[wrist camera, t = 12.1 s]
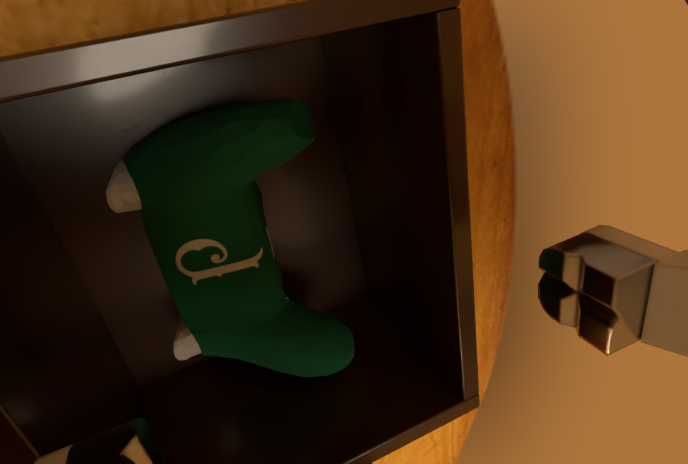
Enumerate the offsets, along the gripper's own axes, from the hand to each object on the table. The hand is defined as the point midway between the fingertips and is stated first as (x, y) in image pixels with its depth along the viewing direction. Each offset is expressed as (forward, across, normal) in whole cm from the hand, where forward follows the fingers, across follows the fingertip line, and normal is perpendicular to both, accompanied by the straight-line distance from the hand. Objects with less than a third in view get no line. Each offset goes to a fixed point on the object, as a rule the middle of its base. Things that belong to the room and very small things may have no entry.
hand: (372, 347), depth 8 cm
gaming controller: (+8, 0, 0) cm, 8 cm away
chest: (+10, +2, 0) cm, 10 cm away
